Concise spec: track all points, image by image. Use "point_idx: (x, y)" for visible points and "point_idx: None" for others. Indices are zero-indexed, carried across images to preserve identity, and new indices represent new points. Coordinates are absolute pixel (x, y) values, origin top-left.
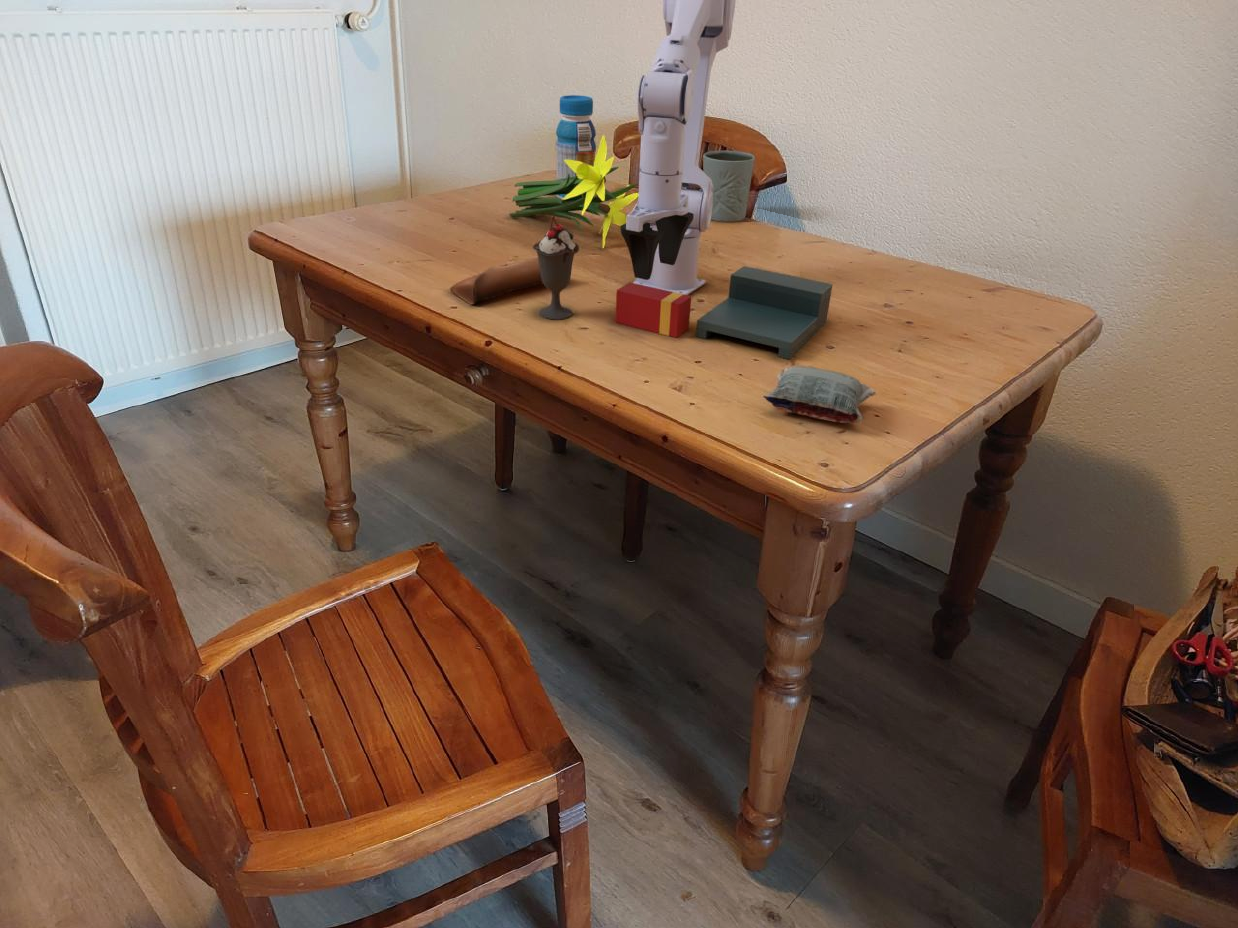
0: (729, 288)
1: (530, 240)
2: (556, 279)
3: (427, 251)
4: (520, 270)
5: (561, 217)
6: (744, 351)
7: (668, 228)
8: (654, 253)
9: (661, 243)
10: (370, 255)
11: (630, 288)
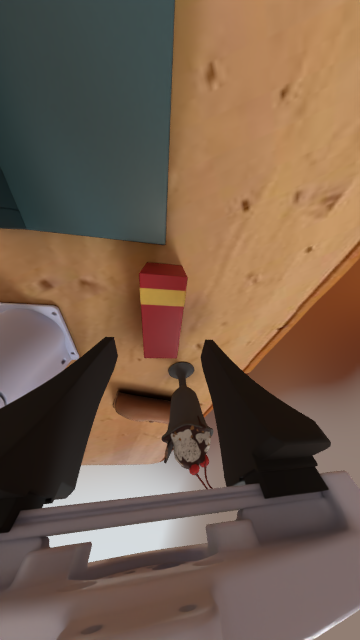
0: (8, 228)
1: None
2: (197, 399)
3: (133, 438)
4: (158, 414)
5: None
6: (180, 125)
7: (75, 426)
8: (232, 376)
9: (101, 389)
10: (156, 443)
11: (163, 350)
